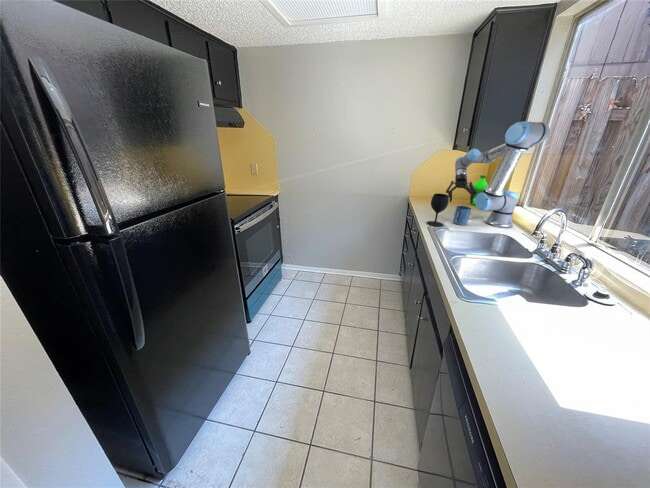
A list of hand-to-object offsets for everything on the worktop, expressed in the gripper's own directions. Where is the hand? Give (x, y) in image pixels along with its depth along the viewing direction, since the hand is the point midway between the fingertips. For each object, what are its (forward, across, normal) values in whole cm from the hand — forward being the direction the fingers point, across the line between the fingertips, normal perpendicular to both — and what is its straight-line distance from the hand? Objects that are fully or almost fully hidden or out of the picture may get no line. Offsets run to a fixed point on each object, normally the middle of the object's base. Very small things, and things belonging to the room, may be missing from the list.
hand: (461, 201), depth 180 cm
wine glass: (+21, +18, +2) cm, 27 cm away
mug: (+16, +1, -2) cm, 16 cm away
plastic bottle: (-26, -26, -45) cm, 58 cm away
